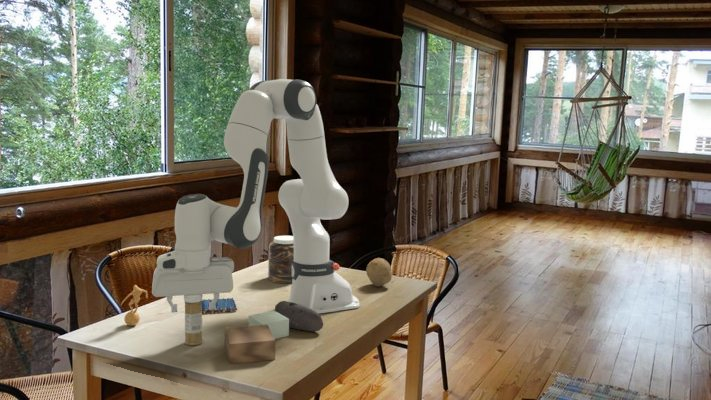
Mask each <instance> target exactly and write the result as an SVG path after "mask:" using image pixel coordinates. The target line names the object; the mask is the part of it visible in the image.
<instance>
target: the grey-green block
mask: <svg viewBox="0 0 711 400" xmlns="http://www.w3.org/2000/svg"><path fill="white" fill-rule="evenodd" d="M259 325H268V327H269V329H270V331H271V333H272V335H273V337H274V339H275V340H276V339H281V338H285V337H289V335H290V328H289V319H288V318H287V317H285V316H283V315H281V314H279V313H278V312H276V311H275V310H271V311H270V310H269V311H265V312H261V313H260V312H259V313H256V314H250V315H248V326H259Z"/></svg>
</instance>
